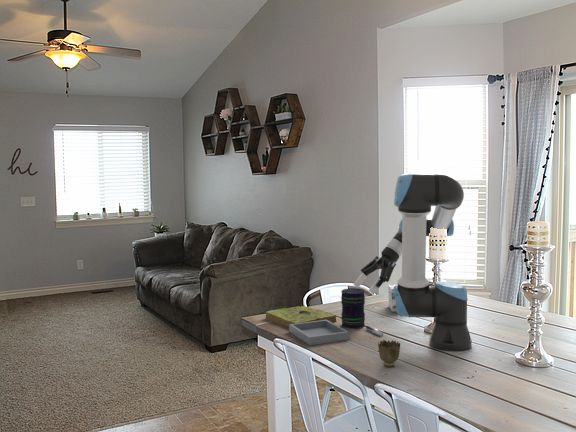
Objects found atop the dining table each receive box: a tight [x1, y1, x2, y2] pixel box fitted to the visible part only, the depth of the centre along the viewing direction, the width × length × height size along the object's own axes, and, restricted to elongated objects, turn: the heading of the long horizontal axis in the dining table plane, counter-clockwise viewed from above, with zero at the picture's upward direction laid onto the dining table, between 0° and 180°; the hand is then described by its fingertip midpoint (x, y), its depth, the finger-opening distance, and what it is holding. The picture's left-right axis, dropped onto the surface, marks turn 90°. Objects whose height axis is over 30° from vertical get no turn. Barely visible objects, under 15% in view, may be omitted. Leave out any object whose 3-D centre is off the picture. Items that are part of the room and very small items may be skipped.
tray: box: [288, 320, 350, 346], centre depth 233 cm, size 20×17×3 cm
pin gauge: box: [365, 325, 384, 337], centre depth 236 cm, size 10×2×2 cm, turn 22°
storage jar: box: [340, 287, 366, 330], centre depth 247 cm, size 10×10×15 cm
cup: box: [377, 339, 401, 368], centre depth 197 cm, size 8×7×8 cm
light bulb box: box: [388, 284, 398, 313], centre depth 274 cm, size 11×7×11 cm, turn 179°
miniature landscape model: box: [265, 305, 337, 328], centre depth 257 cm, size 22×24×5 cm
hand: (363, 289), depth 249 cm, fingers open, 13 cm apart
